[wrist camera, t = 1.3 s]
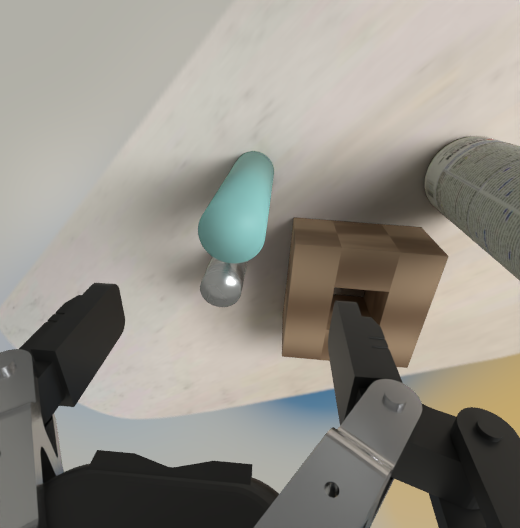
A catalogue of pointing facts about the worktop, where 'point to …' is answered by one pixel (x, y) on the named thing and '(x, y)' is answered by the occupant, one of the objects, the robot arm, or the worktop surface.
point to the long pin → (239, 211)
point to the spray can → (480, 194)
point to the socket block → (358, 282)
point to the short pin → (223, 282)
